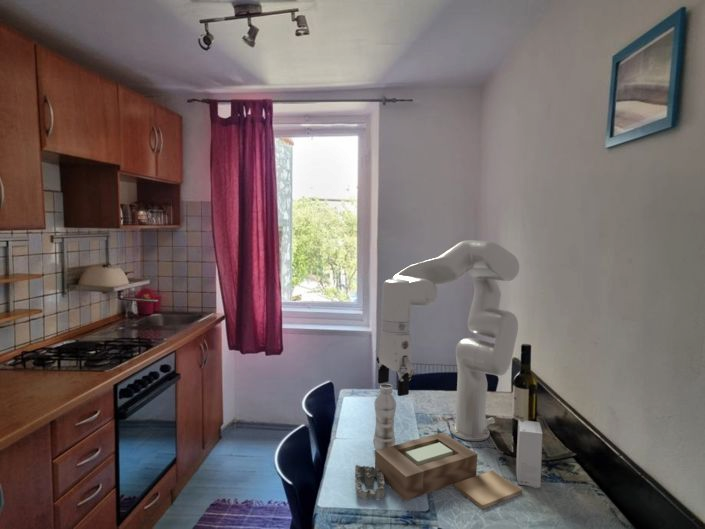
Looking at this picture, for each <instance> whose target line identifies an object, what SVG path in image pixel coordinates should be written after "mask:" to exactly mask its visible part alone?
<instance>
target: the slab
mask: <svg viewBox="0 0 705 529" xmlns="http://www.w3.org/2000/svg"><path fill="white" fill-rule="evenodd" d="M452 455H453V451H452V450H450V449H449V448H447V447H446V446H444V445H443V444H441V443H440V442H439V443H436V444H432V445H428V446H425V447H421V448H418V449H414V450H411V451H407V452H406V455H405V457H407V458H408V459H409V460H410V461H412V462H413V463H414V464H415V465H417V466H420V465H423V464H427V463H430V462H433V461H436V460H440V459H443V458H446V457H449V456H452Z"/></svg>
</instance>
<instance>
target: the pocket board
mask: <svg viewBox="0 0 705 529" xmlns="http://www.w3.org/2000/svg"><path fill="white" fill-rule="evenodd" d="M439 442H440V443H441V444H443V445H444V446H446V447H447V448H449V449H450V450H452V451H453V455H452V456H449V457H446V458H443V459H440V460H436V461H433V462H430V463H427V464H423V465H420V466H417V465H415V464H414V463H413V462H412V461H410V460H409V459H408V458H407V457H405V455H406V452H407V451H411V450H414V449H418V448H421V447H425V446H428V445H432V444H436V443H439ZM374 452H375V454H374V457H375V458H374V468H375V469H377V468H378V467H379V469H380V472H382V474H383V476H384V484H385V485H387V486H388V487H389V486H390V487H391V488H390V487H389V488H390V489H391V490H392V491H393V492H395V493H396V494H397V496H398V497H400V498H401V499H402V500H403V501H404V502H407V501H411V500H412V499H417V498H419V497H421V496H422V497H423V496H424V495H429V494H430V493H433V492H436V491H439V490H442V489H444V488H447V487H451V486H454V483H457V482H460V481H463V480H466V479H469V478H472V477H474V476H477V472H478V471H477V467H478V453H477V452H475V451H474V450H472V449H470V448H469V447H467V446H466V445H464V444H462V443H461V442H459V441H458V440H456V439H454V438H453V437H451V436H450V435H448V434H446V433H445V432H438V433H436V434H432V435H428V436H424V437H421V438H417V439H412V440H410V441H405V442H403V443H399V444H395V445H394V446H390V447H387V448H383V449H379V450H376V449H375V451H374Z"/></svg>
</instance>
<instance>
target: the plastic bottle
mask: <svg viewBox="0 0 705 529" xmlns="http://www.w3.org/2000/svg"><path fill="white" fill-rule="evenodd" d="M378 391H379V393H378V395H377V396H376V398H375V399H374V405H373V406H374V412H375V428H374V435H373V441H372V444H373V448H374V449H375V450H379V449H383V448H387V447H390V446H394V445H396V436H395V426H394V424H395V416H396V409H397V401H396V399H395V397H394V396H393V392H394V390H393V385H392V384H388V383H381V384H380V386H379V390H378Z"/></svg>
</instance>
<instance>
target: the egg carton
mask: <svg viewBox="0 0 705 529" xmlns="http://www.w3.org/2000/svg"><path fill="white" fill-rule="evenodd" d="M374 477H375V478H376V477H377V478H376V480H377V482H376V483H377V486H378V487H377V488H376V489H375V490H374V489H372V488H368V489H366V490H365V491H364V488H363V486H362V485H363V484H362V480H361V479H362V478H364V486H366V487H373V485H374ZM354 484H355V487H356V490H357V491H356V492H357V493H356V494H357V495H356V497H357V498H361V500H363V501H367V500H368V498H374V499H375V500H376V499H379V500H378V501H380V500H381V499H382V498H383V497H385V482H384V476H383V474H382V472H380V469H379V467H378V468H377V469H375V466H369V465H368V466H366V465H363V466H361V465H358V464H355V468H354ZM381 497H382V498H381ZM380 498H381V499H380Z"/></svg>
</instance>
